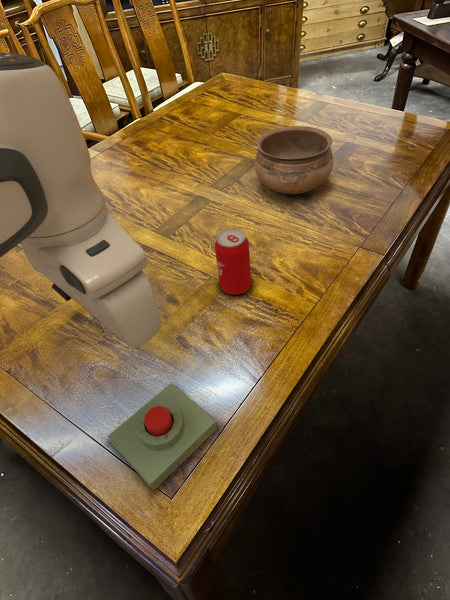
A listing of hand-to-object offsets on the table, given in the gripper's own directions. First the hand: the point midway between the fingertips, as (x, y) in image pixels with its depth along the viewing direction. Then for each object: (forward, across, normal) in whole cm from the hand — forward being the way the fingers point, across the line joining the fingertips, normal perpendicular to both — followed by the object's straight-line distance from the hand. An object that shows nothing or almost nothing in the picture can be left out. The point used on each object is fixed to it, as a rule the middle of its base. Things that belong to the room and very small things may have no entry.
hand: (107, 327), depth 51 cm
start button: (+16, +6, -1) cm, 17 cm away
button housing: (+19, +6, -1) cm, 20 cm away
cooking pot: (+19, -21, +66) cm, 72 cm away
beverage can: (+19, -8, +30) cm, 36 cm away
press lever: (+11, -26, +9) cm, 30 cm away
